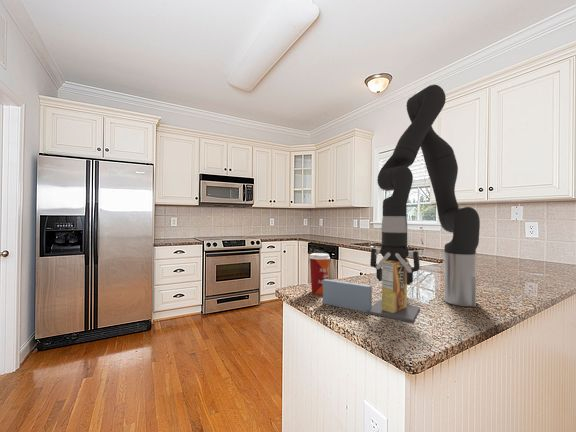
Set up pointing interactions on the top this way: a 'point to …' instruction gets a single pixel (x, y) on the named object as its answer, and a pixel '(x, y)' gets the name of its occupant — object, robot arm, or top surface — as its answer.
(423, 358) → the top surface
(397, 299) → the candy box
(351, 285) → the screen
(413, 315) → the mat
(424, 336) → the top surface
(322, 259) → the coffee cup
